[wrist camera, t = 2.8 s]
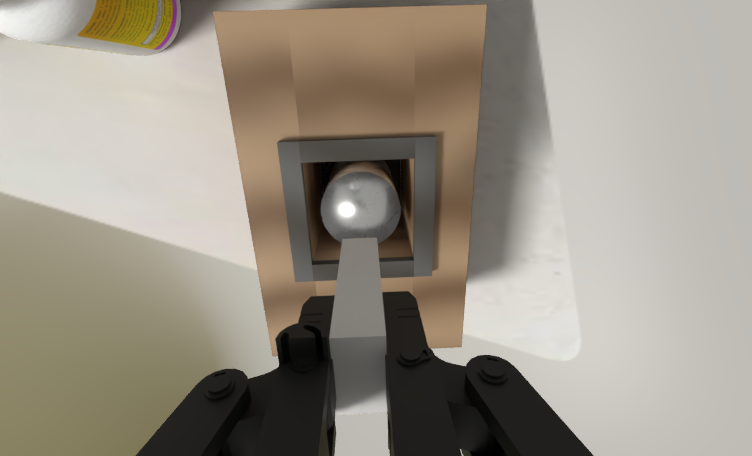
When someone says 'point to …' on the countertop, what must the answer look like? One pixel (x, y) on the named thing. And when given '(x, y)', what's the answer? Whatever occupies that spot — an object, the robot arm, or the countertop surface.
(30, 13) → the supplement bottle
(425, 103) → the socket block
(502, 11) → the countertop surface
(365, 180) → the peg
